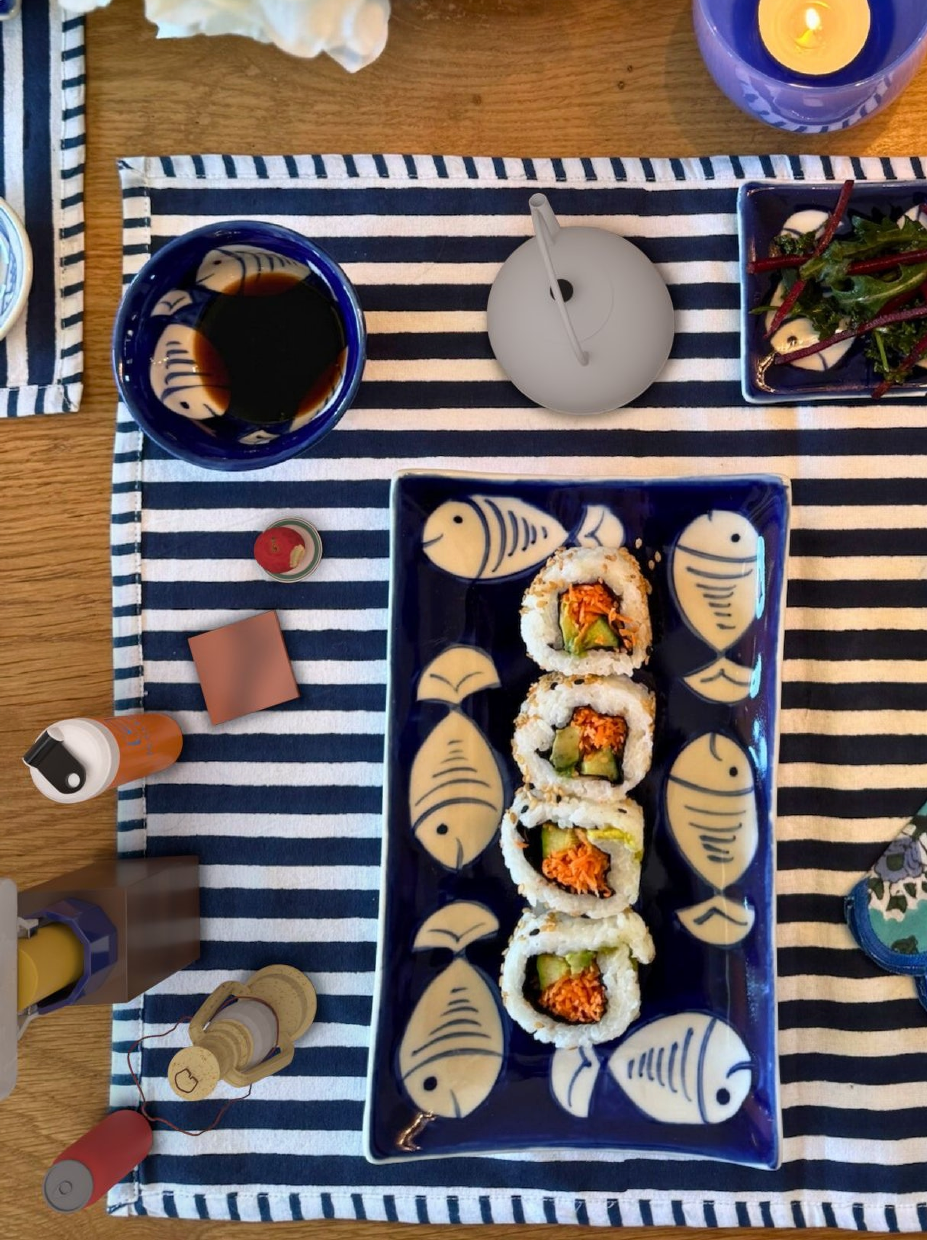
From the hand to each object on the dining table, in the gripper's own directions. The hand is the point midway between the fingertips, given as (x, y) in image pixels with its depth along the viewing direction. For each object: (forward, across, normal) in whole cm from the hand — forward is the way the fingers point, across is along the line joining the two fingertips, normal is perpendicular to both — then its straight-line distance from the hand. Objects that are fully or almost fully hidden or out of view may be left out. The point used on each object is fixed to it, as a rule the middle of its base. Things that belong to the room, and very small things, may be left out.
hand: (31, 967), depth 117 cm
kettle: (+23, -69, +55) cm, 91 cm away
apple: (+23, -42, +18) cm, 51 cm away
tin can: (+7, 0, 0) cm, 7 cm away
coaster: (+23, -28, +12) cm, 38 cm away
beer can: (+23, +26, -3) cm, 35 cm away
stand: (+23, 0, 0) cm, 23 cm away
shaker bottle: (+23, -20, +1) cm, 30 cm away
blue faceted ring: (+7, 0, 0) cm, 7 cm away
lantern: (+23, +12, +15) cm, 30 cm away
